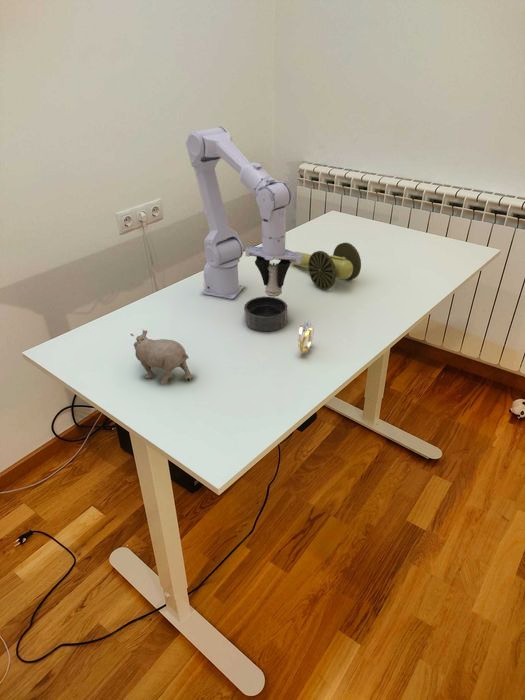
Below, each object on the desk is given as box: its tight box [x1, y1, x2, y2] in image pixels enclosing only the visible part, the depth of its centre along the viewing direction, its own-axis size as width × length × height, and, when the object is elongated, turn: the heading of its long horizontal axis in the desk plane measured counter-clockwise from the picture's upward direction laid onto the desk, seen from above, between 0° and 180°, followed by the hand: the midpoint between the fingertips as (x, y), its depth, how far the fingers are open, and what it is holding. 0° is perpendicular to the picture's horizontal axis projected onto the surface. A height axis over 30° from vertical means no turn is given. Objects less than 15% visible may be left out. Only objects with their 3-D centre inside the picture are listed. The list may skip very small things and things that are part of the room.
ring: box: [297, 321, 315, 355], centre depth 118 cm, size 7×3×8 cm, turn 148°
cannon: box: [291, 242, 362, 291], centre depth 151 cm, size 25×12×11 cm, turn 37°
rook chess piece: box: [264, 262, 283, 298], centre depth 128 cm, size 4×4×8 cm
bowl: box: [243, 296, 289, 332], centre depth 131 cm, size 11×11×4 cm
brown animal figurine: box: [130, 329, 193, 385], centre depth 111 cm, size 8×14×15 cm
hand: (273, 284), depth 129 cm, fingers closed on rook chess piece, 3 cm apart
